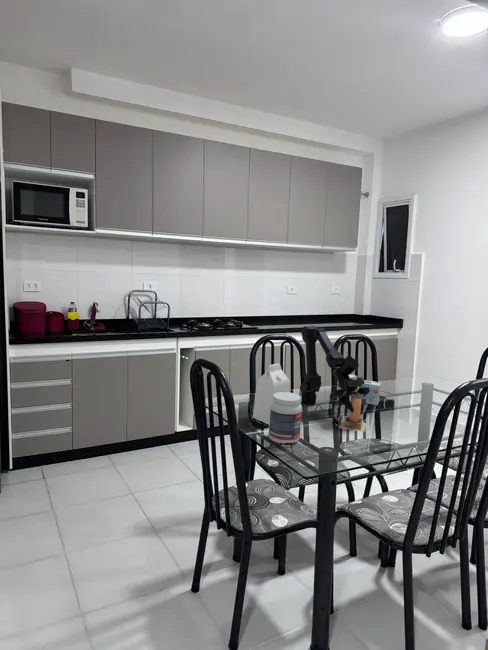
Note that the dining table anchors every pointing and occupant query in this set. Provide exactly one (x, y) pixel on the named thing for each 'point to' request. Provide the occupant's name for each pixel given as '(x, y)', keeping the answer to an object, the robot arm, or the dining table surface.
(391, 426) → the dining table surface
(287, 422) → the supplement tub
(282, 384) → the milk
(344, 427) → the square wooden holder
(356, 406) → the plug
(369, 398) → the light bulb box
